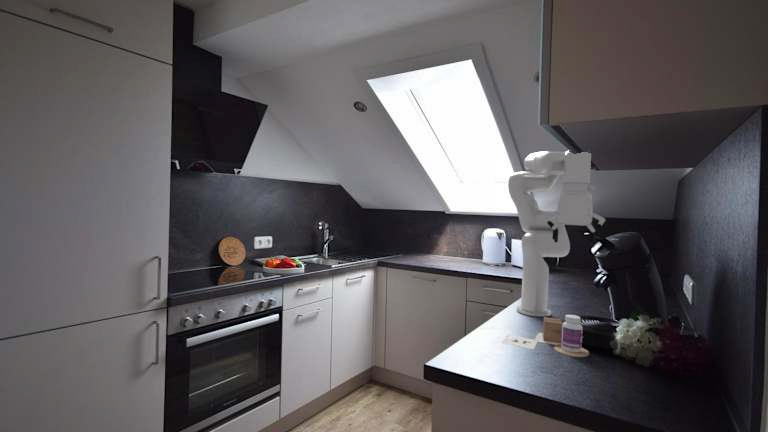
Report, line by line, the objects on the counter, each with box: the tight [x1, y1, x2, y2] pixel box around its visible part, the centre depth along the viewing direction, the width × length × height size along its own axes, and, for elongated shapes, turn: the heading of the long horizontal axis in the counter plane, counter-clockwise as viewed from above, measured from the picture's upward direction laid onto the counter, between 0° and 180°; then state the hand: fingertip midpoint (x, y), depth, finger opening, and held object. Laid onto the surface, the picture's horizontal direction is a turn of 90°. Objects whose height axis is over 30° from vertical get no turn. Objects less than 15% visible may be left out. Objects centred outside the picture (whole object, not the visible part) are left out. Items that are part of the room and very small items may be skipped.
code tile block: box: [534, 332, 561, 346], centre depth 121 cm, size 9×9×1 cm
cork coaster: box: [553, 344, 590, 358], centre depth 112 cm, size 9×9×1 cm
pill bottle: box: [561, 314, 584, 353], centre depth 111 cm, size 5×5×10 cm
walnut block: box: [542, 316, 563, 343], centre depth 120 cm, size 5×5×6 cm
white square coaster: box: [501, 334, 539, 350], centre depth 118 cm, size 9×9×1 cm
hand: (572, 243), depth 123 cm, fingers open, 9 cm apart
